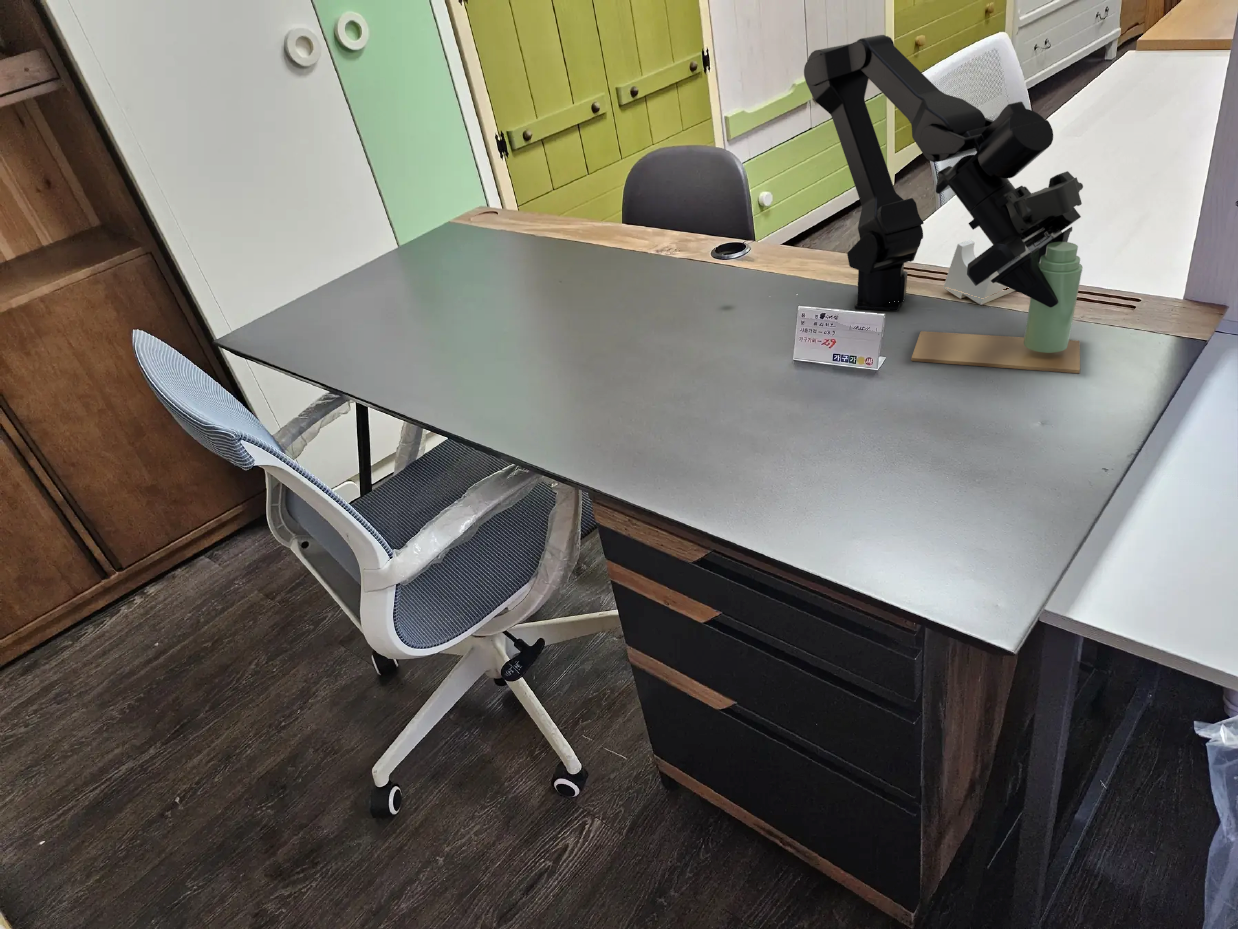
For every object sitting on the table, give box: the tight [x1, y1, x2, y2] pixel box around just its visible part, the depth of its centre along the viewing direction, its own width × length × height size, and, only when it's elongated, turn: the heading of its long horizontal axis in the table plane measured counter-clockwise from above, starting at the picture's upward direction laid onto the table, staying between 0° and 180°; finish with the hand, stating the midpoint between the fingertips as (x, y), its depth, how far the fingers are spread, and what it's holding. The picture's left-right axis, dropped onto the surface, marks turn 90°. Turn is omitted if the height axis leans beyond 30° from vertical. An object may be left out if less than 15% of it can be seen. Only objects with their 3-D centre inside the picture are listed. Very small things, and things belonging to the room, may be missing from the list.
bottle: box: [1023, 241, 1084, 353], centre depth 106 cm, size 5×5×13 cm
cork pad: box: [910, 330, 1081, 374], centre depth 112 cm, size 20×9×1 cm, turn 66°
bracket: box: [943, 239, 1017, 306], centre depth 129 cm, size 13×7×8 cm, turn 121°
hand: (1064, 298), depth 105 cm, fingers closed on bottle, 5 cm apart
